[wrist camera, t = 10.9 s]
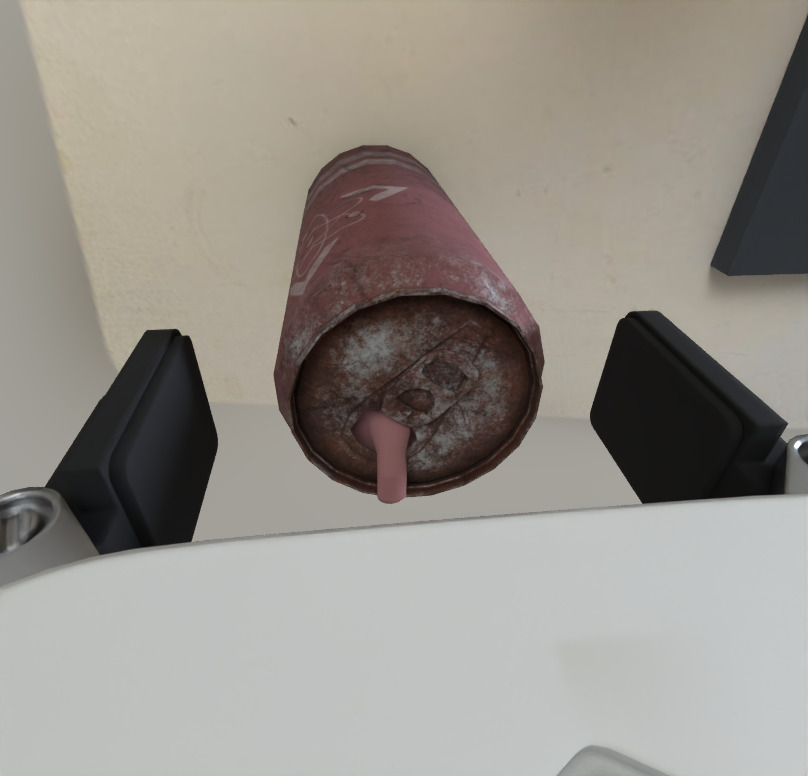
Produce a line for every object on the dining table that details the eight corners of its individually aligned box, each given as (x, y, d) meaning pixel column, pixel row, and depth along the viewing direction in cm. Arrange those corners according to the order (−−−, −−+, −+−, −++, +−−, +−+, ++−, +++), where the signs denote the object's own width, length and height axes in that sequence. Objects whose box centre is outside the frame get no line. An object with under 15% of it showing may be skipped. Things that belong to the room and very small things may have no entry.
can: (310, 289, 23) (287, 526, 12) (298, 141, 20) (249, 279, 8) (437, 288, 24) (529, 510, 13) (448, 144, 20) (592, 274, 9)
